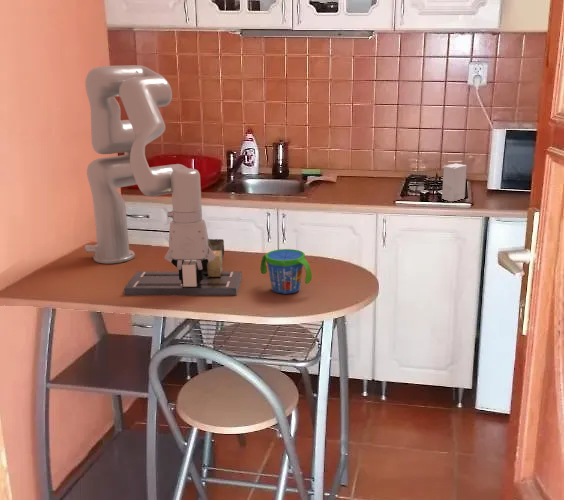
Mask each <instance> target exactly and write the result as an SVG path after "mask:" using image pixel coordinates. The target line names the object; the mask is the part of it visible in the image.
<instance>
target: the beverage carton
mask: <svg viewBox="0 0 564 500" xmlns="http://www.w3.org/2000/svg"><path fill="white" fill-rule="evenodd" d="M208 241H209V247H210V249H211V250H212V251H222V262H223V260H224V256H225V255H224V254H225V245H224V243H225V241H224V239H221V238H220V239H219V238H218V239H217V238H215V239H213V238H212V239H211V238H208ZM206 258H207V257H206ZM203 260H204V259H203ZM203 271H208V270H207V264H206V265H205V266H204V267H203Z"/></svg>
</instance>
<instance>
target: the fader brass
mask: <svg viewBox="0 0 564 500" xmlns="http://www.w3.org/2000/svg"><path fill="white" fill-rule="evenodd" d="M212 252H213V253H214V254H215V259H214V260H212V261H210V262H208V263H207V270H208V277H220V276H221V274H222V271H223V261H222V251H212ZM207 257H208V256H207Z"/></svg>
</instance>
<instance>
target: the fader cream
mask: <svg viewBox="0 0 564 500" xmlns="http://www.w3.org/2000/svg"><path fill="white" fill-rule="evenodd" d="M197 267H198V266H197V261H196V260H184V262H183V264H182V273H183V287H196V286H197V276H196V270H197Z"/></svg>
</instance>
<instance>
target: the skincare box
mask: <svg viewBox="0 0 564 500" xmlns="http://www.w3.org/2000/svg"><path fill="white" fill-rule="evenodd" d="M467 169H468V167H467V164H462V163H456V162H455V163H451V164H448V165H443V175H442V191H441V193H442V195H441V200H442V199H444V200H448V201H457V200H460V199H464V198H465V197H466V181H467ZM464 200H465V199H464ZM460 201H461V200H460ZM457 202H458V201H457Z"/></svg>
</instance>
